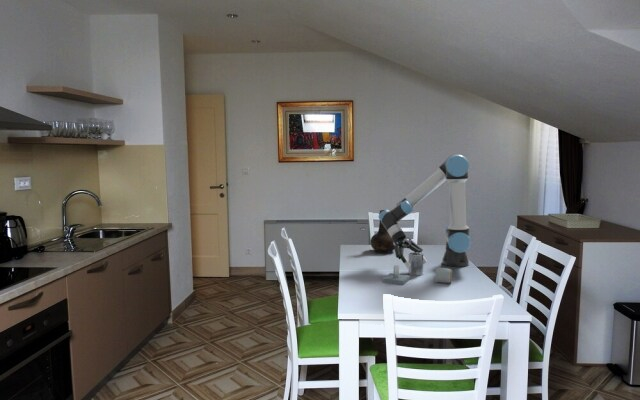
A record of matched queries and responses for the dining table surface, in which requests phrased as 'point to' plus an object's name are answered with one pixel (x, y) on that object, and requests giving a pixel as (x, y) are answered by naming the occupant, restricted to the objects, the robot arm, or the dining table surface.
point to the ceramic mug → (443, 275)
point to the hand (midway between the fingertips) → (417, 265)
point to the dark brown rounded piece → (382, 240)
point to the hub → (416, 263)
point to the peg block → (396, 277)
